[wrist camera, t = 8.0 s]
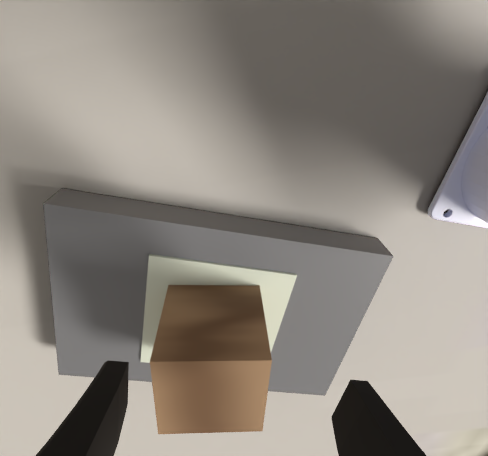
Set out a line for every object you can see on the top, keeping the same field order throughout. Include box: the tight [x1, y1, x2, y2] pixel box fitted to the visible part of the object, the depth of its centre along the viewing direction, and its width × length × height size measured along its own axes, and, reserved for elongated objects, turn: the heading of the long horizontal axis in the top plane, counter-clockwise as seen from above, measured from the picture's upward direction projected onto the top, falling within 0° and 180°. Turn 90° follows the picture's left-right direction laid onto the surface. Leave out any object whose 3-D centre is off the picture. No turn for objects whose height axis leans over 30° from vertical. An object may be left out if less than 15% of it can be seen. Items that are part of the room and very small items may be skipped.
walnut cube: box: [150, 285, 272, 434], centre depth 16 cm, size 5×5×5 cm
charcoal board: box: [43, 188, 393, 395], centre depth 20 cm, size 18×12×2 cm, turn 78°
